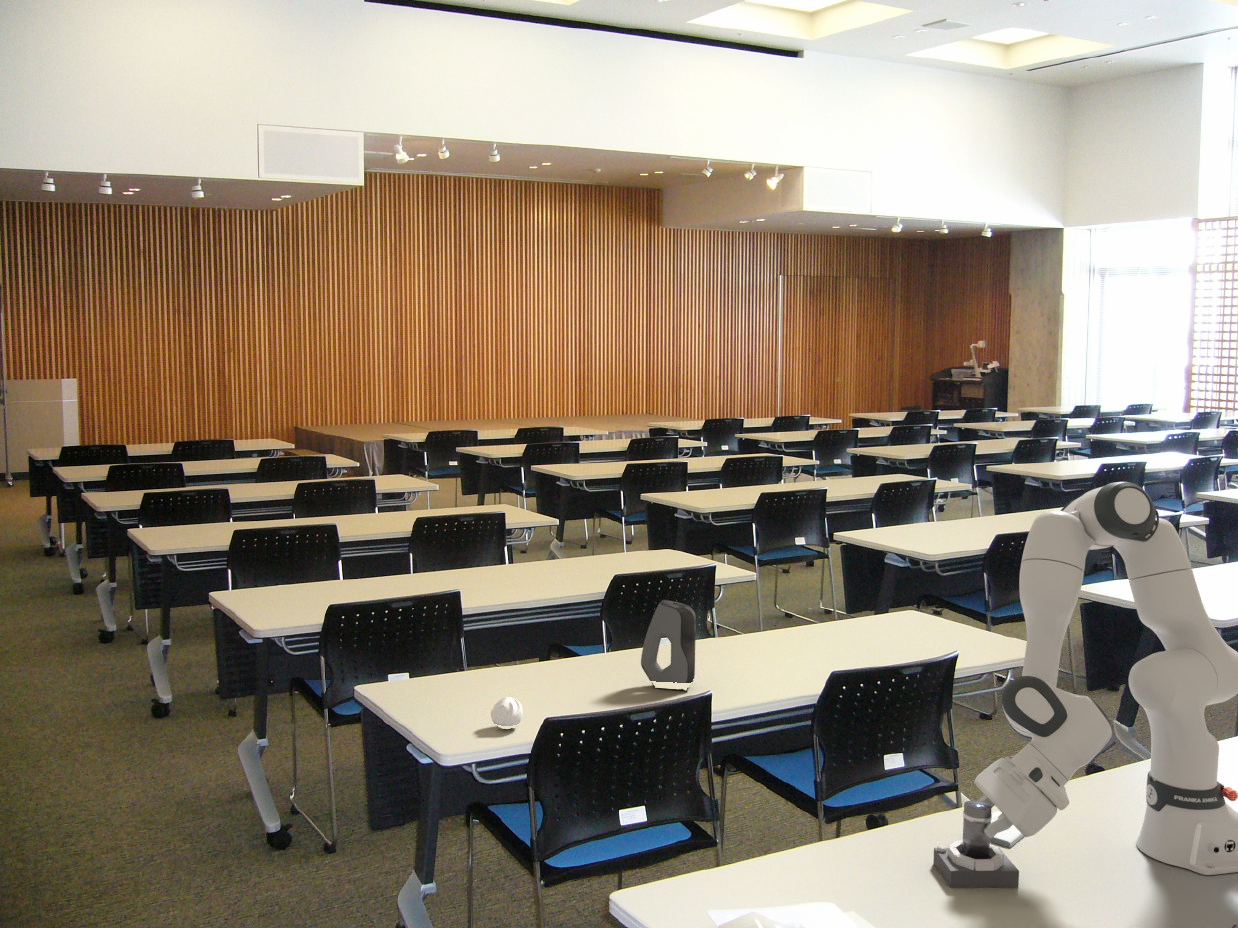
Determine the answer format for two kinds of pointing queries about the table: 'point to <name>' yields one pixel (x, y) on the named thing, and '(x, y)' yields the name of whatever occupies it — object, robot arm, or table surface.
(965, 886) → the octagonal socket base
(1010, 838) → the external hard drive
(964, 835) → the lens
